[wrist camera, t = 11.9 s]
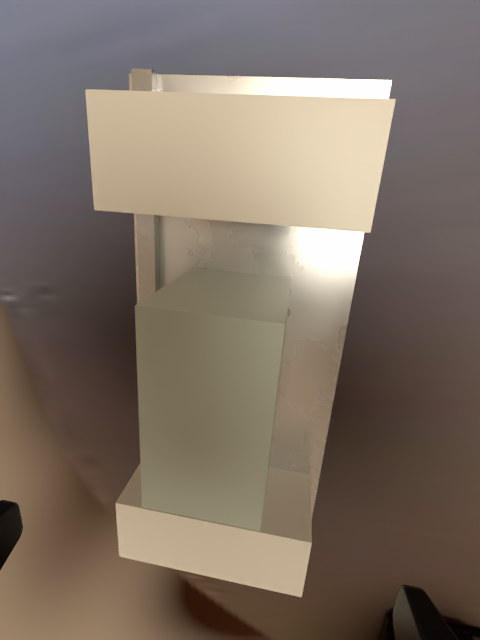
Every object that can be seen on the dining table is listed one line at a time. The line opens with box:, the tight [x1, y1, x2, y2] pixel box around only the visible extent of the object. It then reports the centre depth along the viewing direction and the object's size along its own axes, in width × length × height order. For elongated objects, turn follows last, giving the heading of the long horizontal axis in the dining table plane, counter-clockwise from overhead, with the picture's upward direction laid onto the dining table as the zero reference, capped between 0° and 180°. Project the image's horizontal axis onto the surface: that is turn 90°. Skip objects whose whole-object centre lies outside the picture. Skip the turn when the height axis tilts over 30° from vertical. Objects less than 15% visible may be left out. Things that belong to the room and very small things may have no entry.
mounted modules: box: [85, 89, 396, 597], centre depth 15 cm, size 20×9×4 cm, turn 176°
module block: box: [135, 268, 292, 531], centre depth 14 cm, size 4×8×6 cm, turn 176°
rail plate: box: [129, 69, 392, 521], centre depth 17 cm, size 23×10×2 cm, turn 176°
